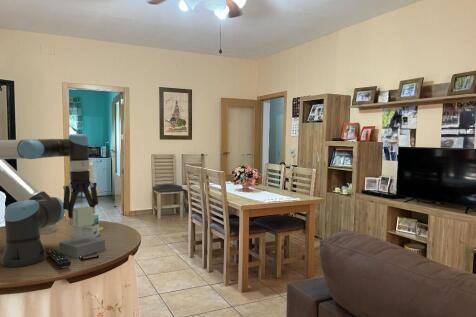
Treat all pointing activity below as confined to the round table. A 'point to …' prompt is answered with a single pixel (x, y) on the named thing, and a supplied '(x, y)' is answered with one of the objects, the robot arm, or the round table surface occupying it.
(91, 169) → the candle
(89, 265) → the round table surface
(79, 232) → the light bulb box
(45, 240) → the round table surface
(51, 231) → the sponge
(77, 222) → the green cube
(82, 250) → the base block
